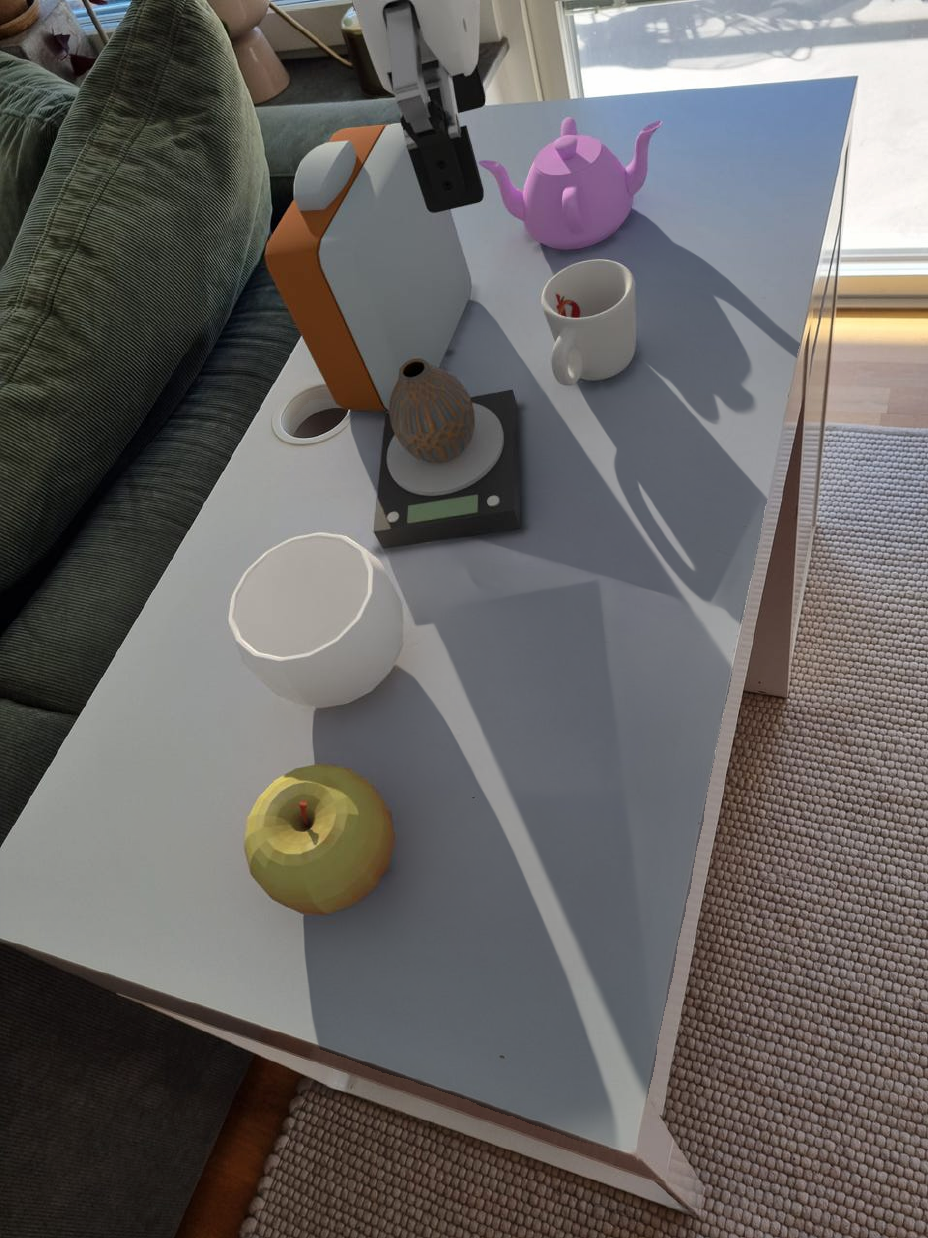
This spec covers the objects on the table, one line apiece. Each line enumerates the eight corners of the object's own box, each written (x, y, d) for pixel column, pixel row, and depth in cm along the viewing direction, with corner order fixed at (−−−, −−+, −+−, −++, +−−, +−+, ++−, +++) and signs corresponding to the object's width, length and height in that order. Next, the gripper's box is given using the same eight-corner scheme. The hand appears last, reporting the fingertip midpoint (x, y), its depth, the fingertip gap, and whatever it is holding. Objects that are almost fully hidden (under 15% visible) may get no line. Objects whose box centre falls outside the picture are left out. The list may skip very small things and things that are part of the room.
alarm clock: (400, 288, 100) (328, 98, 83) (477, 287, 96) (417, 88, 80) (338, 416, 91) (244, 231, 75) (420, 419, 88) (340, 226, 71)
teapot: (497, 237, 100) (476, 160, 93) (592, 167, 103) (579, 87, 96) (570, 276, 93) (554, 196, 86) (670, 200, 96) (663, 116, 89)
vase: (473, 405, 82) (446, 326, 75) (491, 458, 78) (463, 380, 71) (400, 432, 83) (365, 356, 76) (413, 486, 79) (378, 411, 72)
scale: (518, 408, 85) (511, 383, 83) (520, 528, 77) (512, 505, 75) (393, 431, 88) (382, 407, 85) (382, 549, 80) (370, 527, 78)
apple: (409, 784, 67) (371, 734, 61) (407, 921, 62) (365, 882, 55) (282, 800, 69) (232, 754, 63) (269, 935, 64) (213, 899, 57)
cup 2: (608, 421, 81) (594, 350, 75) (528, 405, 85) (509, 336, 79) (658, 337, 85) (649, 263, 79) (580, 325, 89) (565, 253, 83)
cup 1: (436, 597, 76) (398, 522, 68) (406, 735, 69) (360, 670, 62) (299, 598, 80) (248, 527, 72) (258, 729, 73) (198, 668, 65)
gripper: (428, -173, 35) (525, 231, 48) (444, -305, 44) (521, 62, 58) (244, -111, 36) (387, 262, 50) (297, -252, 46) (405, 93, 60)
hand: (459, 154), depth 54 cm, fingers open, 9 cm apart
